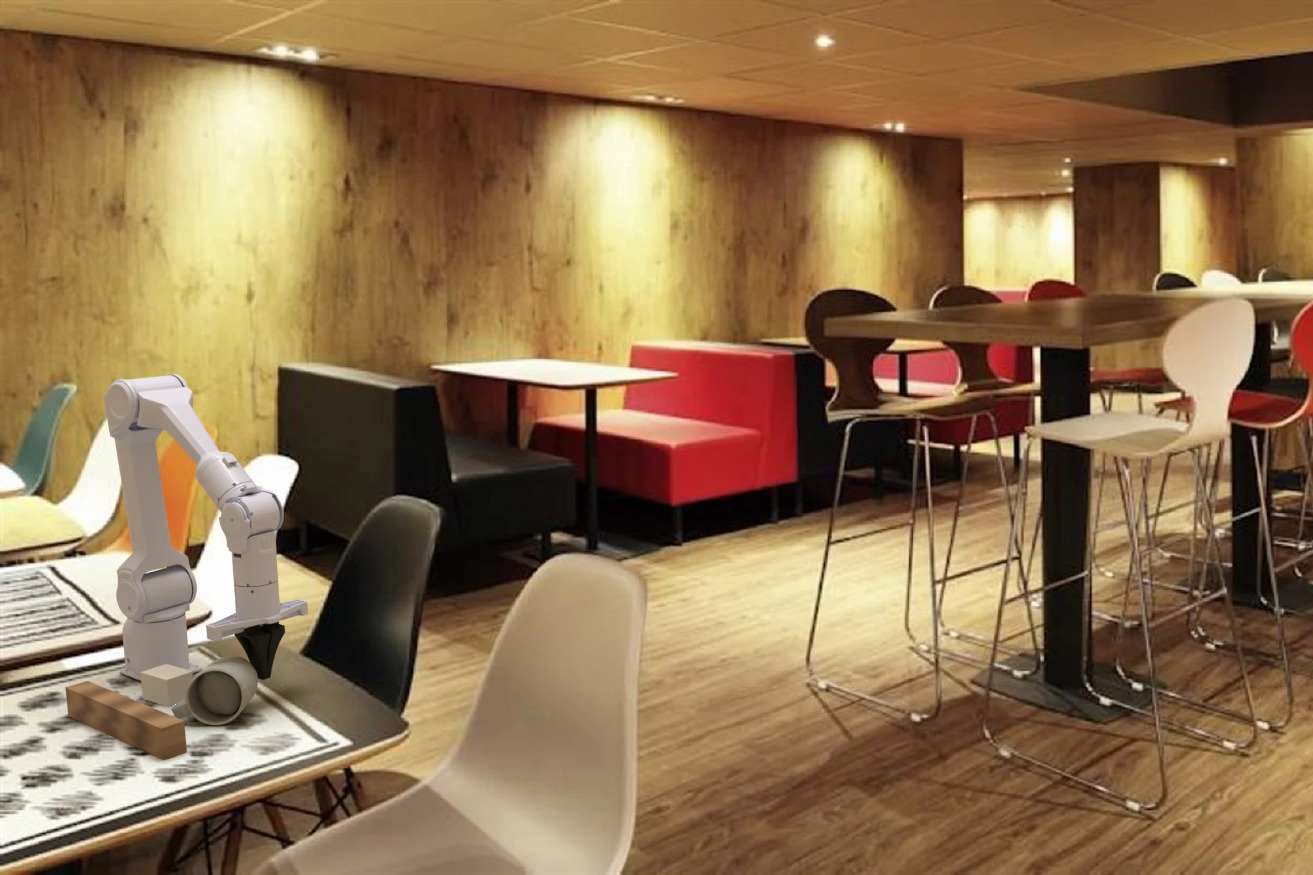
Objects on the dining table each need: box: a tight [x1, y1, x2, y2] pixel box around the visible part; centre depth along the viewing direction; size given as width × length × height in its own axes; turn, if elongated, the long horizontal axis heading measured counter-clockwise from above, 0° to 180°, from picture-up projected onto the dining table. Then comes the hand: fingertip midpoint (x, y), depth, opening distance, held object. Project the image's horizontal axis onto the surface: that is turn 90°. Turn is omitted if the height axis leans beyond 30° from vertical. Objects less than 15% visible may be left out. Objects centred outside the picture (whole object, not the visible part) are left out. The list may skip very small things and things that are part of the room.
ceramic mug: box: [171, 655, 259, 726], centre depth 156 cm, size 11×8×8 cm
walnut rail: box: [65, 680, 188, 761], centre depth 150 cm, size 24×3×4 cm, turn 52°
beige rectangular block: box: [140, 664, 194, 708], centre depth 162 cm, size 6×4×4 cm, turn 57°
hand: (262, 677), depth 161 cm, fingers closed
